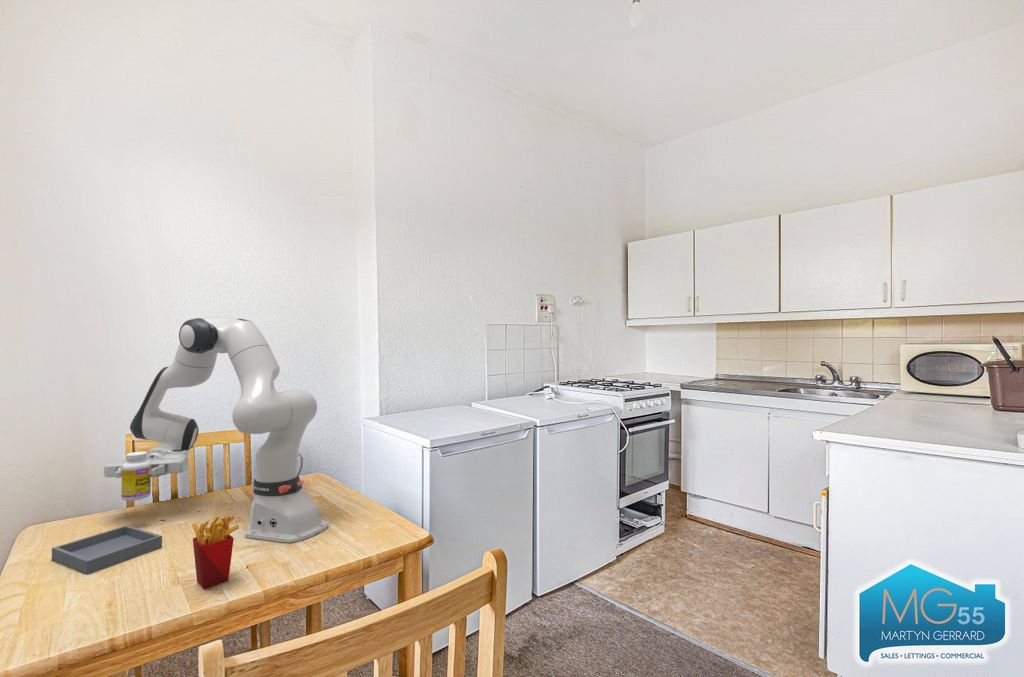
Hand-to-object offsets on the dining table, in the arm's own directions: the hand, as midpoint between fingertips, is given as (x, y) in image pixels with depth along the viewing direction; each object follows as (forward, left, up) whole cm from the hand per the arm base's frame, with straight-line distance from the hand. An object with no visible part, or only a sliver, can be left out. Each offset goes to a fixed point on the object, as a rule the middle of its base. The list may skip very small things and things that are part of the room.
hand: (134, 473), depth 137 cm
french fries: (-51, +9, -16) cm, 54 cm away
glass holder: (-10, -44, -16) cm, 47 cm away
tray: (-13, +12, -15) cm, 24 cm away
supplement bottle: (0, -1, -7) cm, 7 cm away
